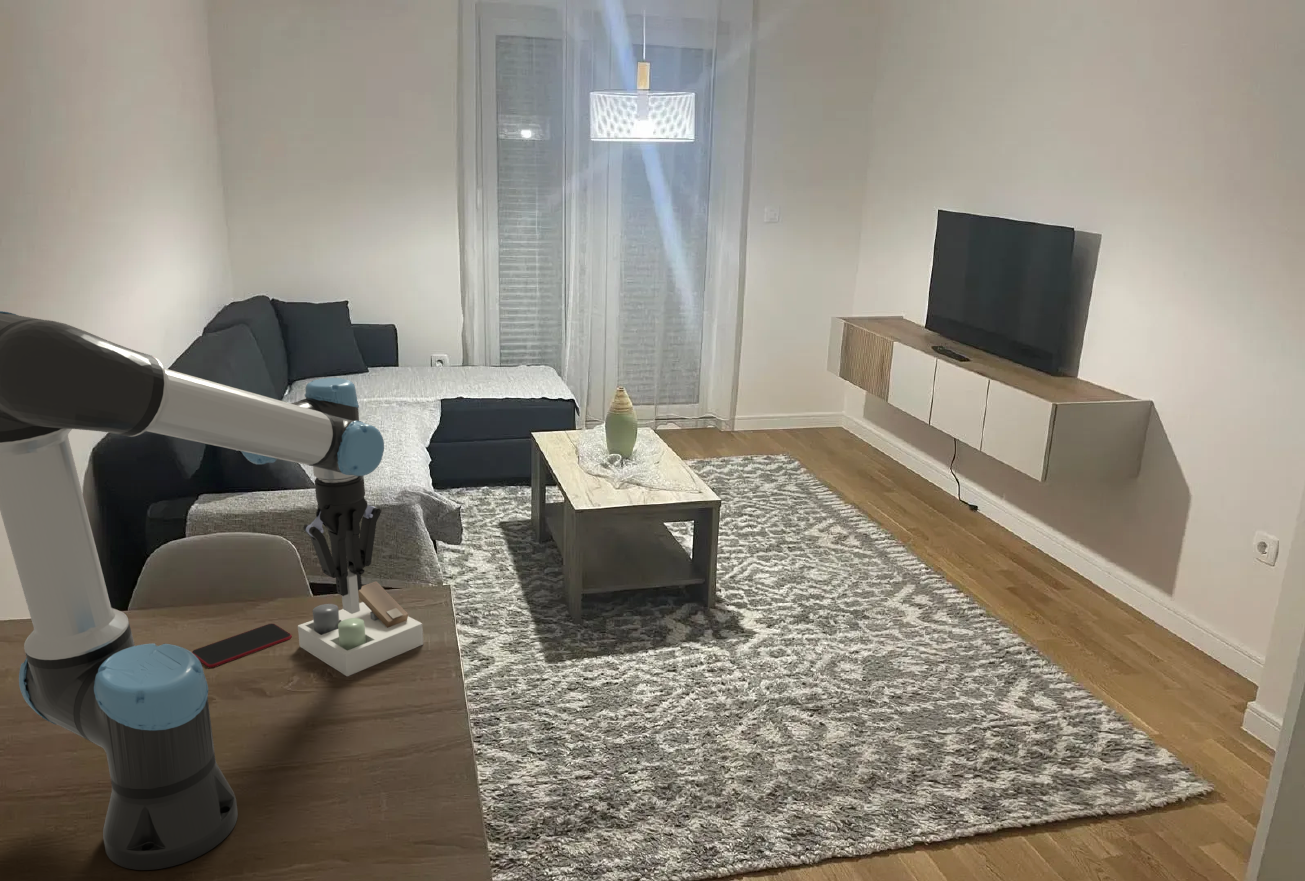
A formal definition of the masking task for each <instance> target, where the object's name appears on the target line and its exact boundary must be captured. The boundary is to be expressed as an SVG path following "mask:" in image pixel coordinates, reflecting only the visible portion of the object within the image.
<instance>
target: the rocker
mask: <svg viewBox="0 0 1305 881" xmlns="http://www.w3.org/2000/svg"><path fill="white" fill-rule="evenodd" d="M358 596H359V600H361V602H364V603H365V605H366V606H367V607H368V608H369V609H370V610H371V611H372V612H373V613H374V614H375V615H376V616H377V617H378V618H379V619H380V621H381V622H382V623H383V624H384V625H385V626H386V627H387V628H388V627H391V626H393V625H396V624H399V623H401V622H404V621H406V620H407V618H408V616H409V613H408V612H407V611H406V610H404V607H402V606H401V605H400V604H399V603H398V602H397V601H396V600H395V599H394V598H393V597H392V596H391V594H390V593H388V592H387V591H386V590H385V588H384V587H383V586H382V585H381V584H380V583H379V582H378V581H377V580H376V581H373V582H370V583H367V584H364V585H362V588H361V590H358Z"/></svg>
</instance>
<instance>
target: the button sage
mask: <svg viewBox="0 0 1305 881" xmlns="http://www.w3.org/2000/svg"><path fill="white" fill-rule="evenodd" d="M338 632H339V644H340V647H342V648H344V649H345V650H347V651H348V650H350V649H353V648H355V647H358V646H360V645H363V644H365V643H366V638H365V626H364V621H363V620H362V619H359V618H349V619H345V620H343V621H341V622H340V623H339V624H338Z"/></svg>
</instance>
